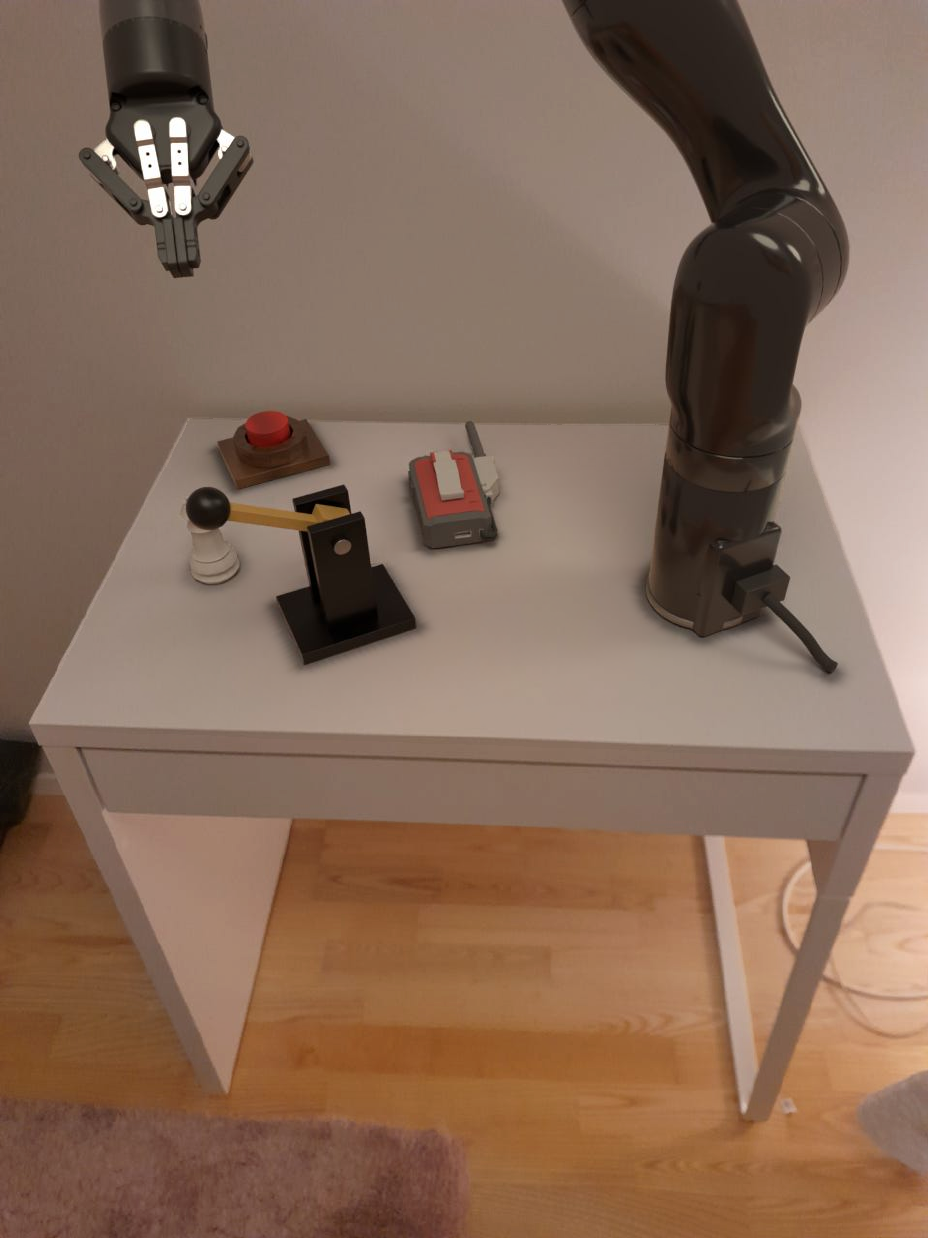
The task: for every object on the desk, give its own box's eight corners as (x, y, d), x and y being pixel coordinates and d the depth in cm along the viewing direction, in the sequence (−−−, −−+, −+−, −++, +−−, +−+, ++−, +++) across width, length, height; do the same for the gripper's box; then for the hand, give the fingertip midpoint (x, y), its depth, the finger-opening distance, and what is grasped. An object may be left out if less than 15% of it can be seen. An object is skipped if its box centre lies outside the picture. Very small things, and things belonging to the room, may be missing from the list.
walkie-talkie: (518, 546, 88) (479, 432, 102) (518, 508, 85) (478, 396, 99) (425, 559, 87) (399, 442, 101) (422, 521, 84) (395, 406, 98)
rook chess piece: (250, 570, 87) (232, 500, 81) (208, 593, 85) (187, 522, 79) (224, 548, 89) (205, 479, 84) (182, 570, 87) (160, 500, 82)
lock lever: (185, 536, 68) (197, 498, 67) (177, 511, 70) (188, 475, 69) (346, 555, 75) (359, 522, 74) (333, 533, 78) (346, 500, 76)
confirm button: (284, 421, 100) (281, 406, 99) (295, 441, 98) (293, 426, 96) (243, 431, 99) (240, 416, 98) (254, 452, 96) (251, 437, 95)
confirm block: (307, 427, 104) (303, 403, 102) (330, 464, 99) (326, 440, 97) (219, 450, 102) (213, 426, 99) (237, 489, 96) (231, 465, 94)
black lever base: (304, 665, 78) (280, 555, 70) (278, 606, 83) (252, 497, 75) (416, 628, 80) (405, 518, 72) (383, 573, 86) (370, 465, 78)
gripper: (46, 18, 66) (73, 260, 66) (235, 5, 67) (263, 243, 67) (81, 82, 74) (106, 300, 73) (251, 69, 75) (277, 284, 74)
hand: (181, 273), depth 70 cm, fingers closed
